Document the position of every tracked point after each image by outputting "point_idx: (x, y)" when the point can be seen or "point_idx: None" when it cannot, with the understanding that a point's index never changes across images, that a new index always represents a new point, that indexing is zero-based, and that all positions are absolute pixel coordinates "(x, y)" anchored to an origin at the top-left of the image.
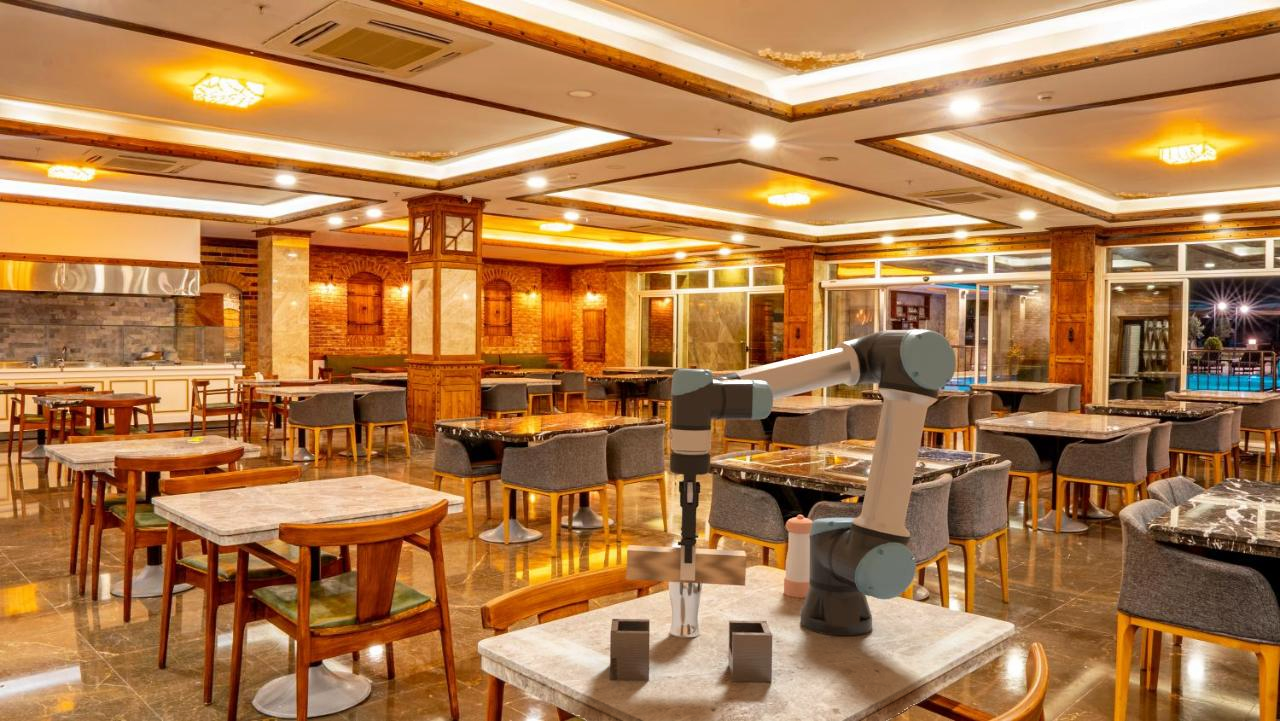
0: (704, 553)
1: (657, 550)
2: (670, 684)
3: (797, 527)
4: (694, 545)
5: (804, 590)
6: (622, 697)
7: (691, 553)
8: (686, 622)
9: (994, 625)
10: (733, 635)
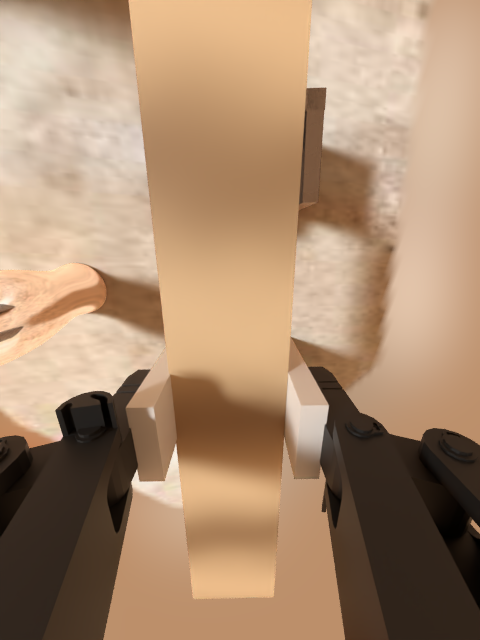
0: (279, 325)
1: (259, 519)
2: (302, 308)
3: None
4: (364, 417)
5: None
6: (341, 364)
7: (347, 399)
8: (87, 291)
9: None
10: (316, 201)
